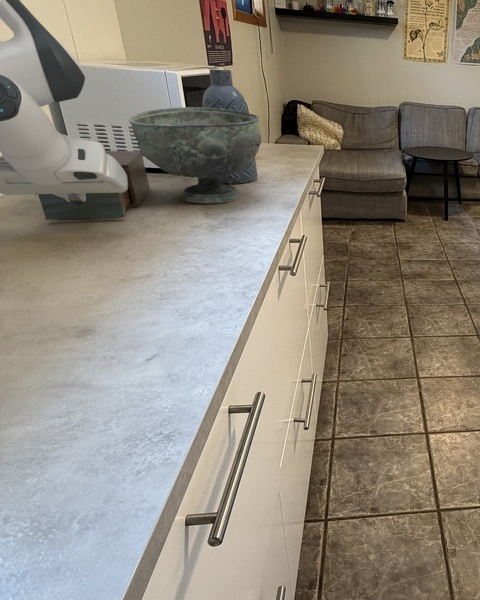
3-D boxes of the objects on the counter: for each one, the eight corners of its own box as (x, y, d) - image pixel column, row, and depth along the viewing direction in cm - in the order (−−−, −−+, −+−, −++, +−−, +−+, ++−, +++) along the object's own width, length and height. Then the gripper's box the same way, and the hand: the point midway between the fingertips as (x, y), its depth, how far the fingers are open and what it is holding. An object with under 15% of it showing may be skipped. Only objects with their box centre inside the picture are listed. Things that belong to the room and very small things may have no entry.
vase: (255, 184, 131) (241, 72, 118) (207, 184, 128) (188, 69, 115) (260, 174, 142) (248, 70, 129) (216, 173, 139) (200, 67, 126)
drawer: (123, 218, 97) (113, 181, 94) (44, 221, 93) (30, 182, 89) (138, 198, 110) (130, 164, 107) (69, 199, 106) (58, 164, 102)
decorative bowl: (273, 182, 132) (262, 106, 122) (266, 211, 111) (252, 122, 101) (169, 186, 126) (148, 106, 116) (140, 217, 104) (112, 122, 95)
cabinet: (138, 207, 107) (127, 164, 103) (60, 210, 102) (45, 165, 98) (150, 189, 120) (141, 151, 115) (81, 191, 115) (69, 150, 110)
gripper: (-37, 174, 76) (10, 215, 89) (112, 173, 83) (136, 211, 96) (-34, 141, 78) (12, 185, 90) (112, 142, 85) (136, 183, 97)
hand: (77, 198), depth 93 cm, fingers closed, pressing on drawer
